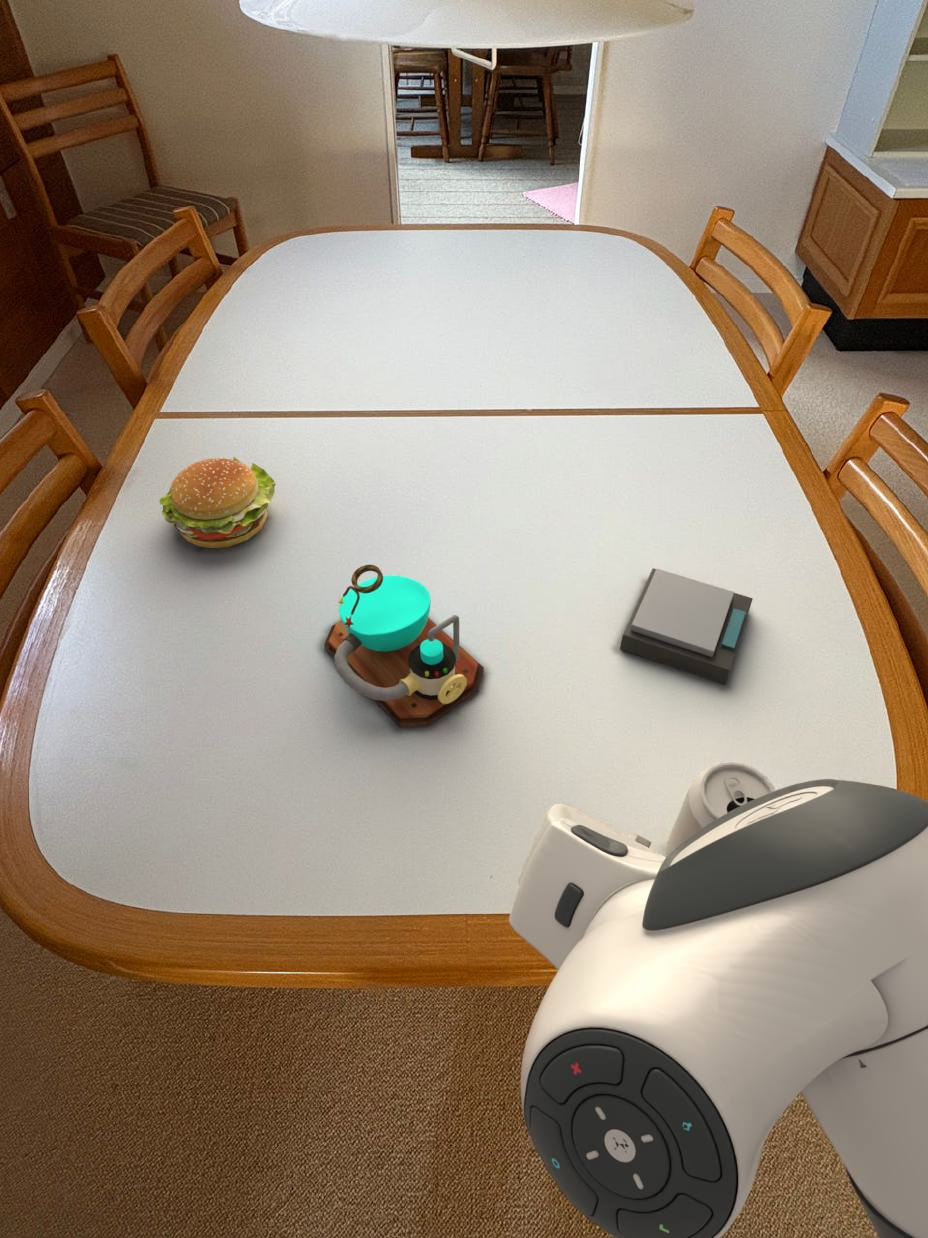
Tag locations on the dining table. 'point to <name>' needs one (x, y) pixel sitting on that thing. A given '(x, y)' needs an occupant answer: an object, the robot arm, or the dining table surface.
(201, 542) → the food
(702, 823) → the can
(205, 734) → the dining table surface
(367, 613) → the contraption on wooden base
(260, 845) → the dining table surface
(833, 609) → the dining table surface
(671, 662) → the scale
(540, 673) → the dining table surface
